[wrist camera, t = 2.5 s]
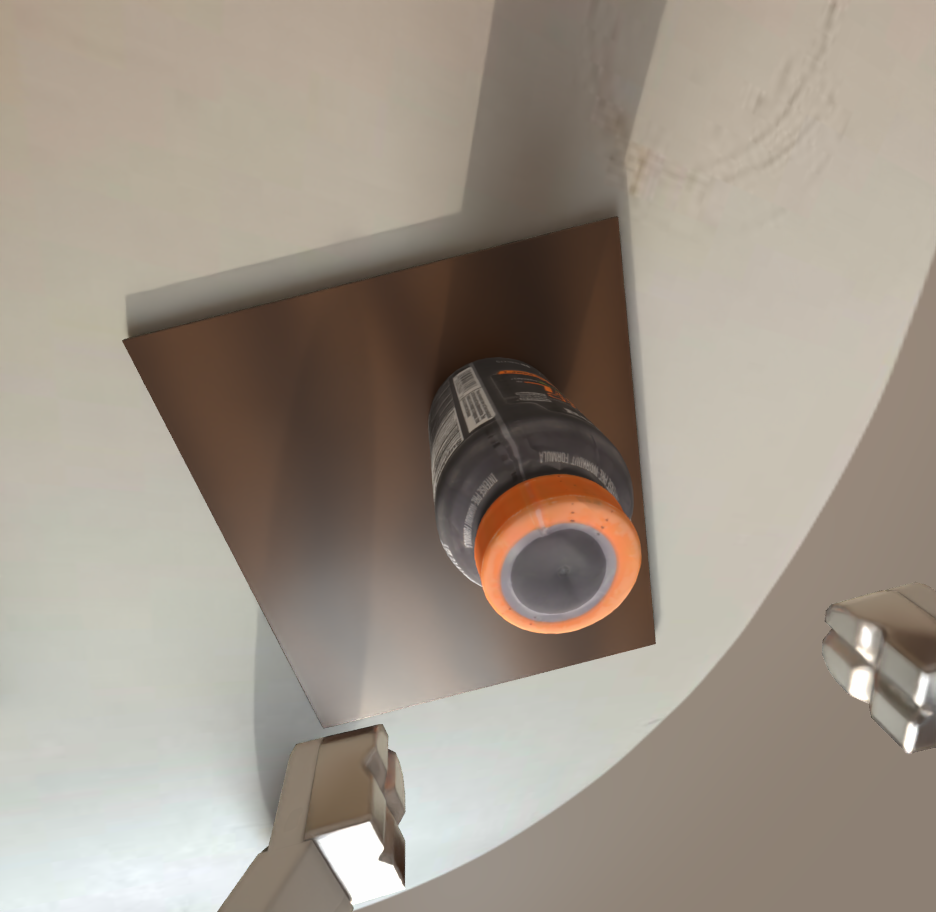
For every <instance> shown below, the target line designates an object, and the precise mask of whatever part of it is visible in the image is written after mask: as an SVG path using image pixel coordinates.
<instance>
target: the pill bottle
mask: <svg viewBox="0 0 936 912" xmlns="http://www.w3.org/2000/svg"><path fill="white" fill-rule="evenodd" d="M428 433H429V444H430V455H431V468H432V483H433V493H434V505H435V519H436V525H437V530H438V533H439V537H440V540H441V543H442V546H443V548H444V549H445V551H446V553H447V555H448V556H449V558H450V559H451V561H452V562H453V564H454V565H455V566H456V567H457V568H458V569H459V570H460V571H461V572H462V573H463V574H464V575H465V576H466V577H467V578H468V579H470V580H471V581H472V582H474V583H476V584H478V585H479V586H481V587H483V590H484V593H485V596H486V598H487V600H488V601H489V603H490V604H491V606H492V607H493V609H494V610H495V611H496V612H497V613H498V614H499V615H500V616H502V617H503V618H504V619H505V620H506V621H508V622H509V623H511V624H513V625H515V626H517V627H519V628H521V629H524V630H528V631H531V632H536V633H545V634H547V633H555V634H559V633H566V632H572V631H576V630H579V629H581V628H584V627H587V626H589V625H591V624H593V623H595V622H597V621H599V620H601V619H603V618H604V617H605V616H607V615H608V614H610V613H611V612H612V611H613V610H614V609H616V608H617V607H618V606H619V605H620V604H621V603H622V602H623V600H624V599H625V598H626V597H627V595H628V594H629V593H630V591H631V589H632V587H633V586H634V584H635V582H636V579H637V576H638V573H639V570H640V566H641V558H642V555H641V544H640V539H639V537H638V534H637V531H636V529H635V527H634V525H633V524H632V522H631V517H632V514H633V507H634V497H633V486H632V481H631V477H630V473H629V470H628V468H627V466H626V463H625V461H624V459H623V458H622V456H621V454H620V452H619V451H618V450H617V448H616V447H615V446H614V445H613V444H612V443H611V441H610V440H609V439H608V438H607V437H606V436H605V435H604V434H603V433H602V432H601V431H600V430H599V429H598V428H597V427H596V426H595V425H594V424H593V423H592V422H591V421H590V420H589V419H587V418H586V417H585V416H584V415H583V414H582V413H581V412H580V411H579V410H578V409H577V408H576V407H575V406H574V405H573V404H572V403H571V402H570V401H569V400H568V399H567V398H566V397H565V396H564V395H563V394H562V393H561V392H560V391H559V390H558V389H557V388H556V387H555V386H554V385H553V384H552V383H551V382H550V381H549V380H548V379H547V378H546V377H545V376H544V375H543V374H542V373H541V372H539V371H538V370H537V369H535V368H534V367H532V366H530V365H529V364H526V363H524V362H522V361H519V360H515V359H509V358H501V357H494V358H485V359H480V360H476V361H474V362H471V363H469V364H466V365H464V366H463V367H461V368H459V369H458V370H456V371H455V372H454V373H453V374H452V375H450V376H449V377H448V378H447V379H446V380H445V381H444V383H443V384H442V385H441V386H440V388H439V389H438V391H437V393H436V395H435V396H434V399H433V401H432V404H431V408H430V412H429V419H428Z"/></svg>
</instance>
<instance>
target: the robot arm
mask: <svg viewBox="0 0 936 912" xmlns="http://www.w3.org/2000/svg"><path fill="white" fill-rule="evenodd" d="M825 622H826V623H827V624H828V625H829V626H830V627H831V628H832V629H831V630H830V631H829V633H828V634H827V635H826V636H825V638H824V639H823V647H822V655H823V657H824V660H825V662H826V665H827V668H828V670H829V671H830V673H831V674H832V676H833V677H834V679H835V680H836V682H837V683H838V684H839V685H840V686H841V687H842V688H843V689H844V690H845V691H846V692H847V693H848V694H849V695H851V696H854V697H856V698H858V699H860V700H862V701H865V702H867V703H869V708H870V713H871V718H872V719H873V720H875V721H876V722H877V724H878V725H879V726H880V727H881V728H882V729H883V730H884V731H885V732H886V733H887V734H888V735H889V736H890V737H891V738H892V739H893V740H894V741H895V742H896V743H897V744H898V745H899V746H900V747H901V748H902V749H903V750H904V751H905V752H906V753H907V754H910V753H914V752H918V751H923V750H927V749H931V748H936V591H935V590H934V589H932V588H931V587H929V586H927V585H924V584H920V583H918V582H914V583H910V584H907V585H903V586H899V587H895V588H892V589H888V590H885V591H877V592H874V593H871V594H867V595H863V596H860V597H856V598H853V599H849V600H845V601H842V602H839V603H835V604H831V605H830V606H829V608H828V609H827V610H826V615H825ZM404 814H405V788H404V780H403V773H402V769H401V766H400V762H399V759H398V757H397V755H396V753H395V752H393V751H391V750H389V749H388V734H387V732H386V730H385V728H384V726H383V724H378V725H374V726H370V727H366V728H361V729H357V730H353V731H348V732H344V733H340V734H335V735H331V736H327V737H323V738H319V739H315V740H311V741H307V742H303V743H299V744H296V745H295V747H294V749H293V751H292V752H291V754H290V757H289V761H288V766H287V770H286V774H285V778H284V783H283V787H282V791H281V795H280V800H279V804H278V808H277V813H276V817H275V821H274V825H273V830H272V834H271V838H270V842H269V847H268V851H266V852H263V853H259V854H258V855H257V856H256V858H255V859H254V861H253V862H252V863H251V865H250V866H249V868H248V869H247V870H246V872H245V873H244V875H243V876H242V878H241V879H240V880H239V882H238V883H237V885H236V886H235V887H234V889H233V890H232V892H231V893H230V894H229V896H228V897H227V899H226V900H225V901H224V903H223V904H222V906H221V907H220V909H219V910H218V911H217V912H352V911H353V909H354V908H353V906H352V904H355V903H359V902H362V901H365V900H369V899H372V898H375V897H379V896H382V895H385V894H388V893H392V892H395V891H398V890H402V889H405V840H404V838H403V835H402V833H401V831H400V829H399V827H398V825H399V823H400V821H401V819H402V817H403V815H404Z"/></svg>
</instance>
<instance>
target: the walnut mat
mask: <svg viewBox="0 0 936 912" xmlns="http://www.w3.org/2000/svg"><path fill="white" fill-rule="evenodd" d="M122 341H123V343H124V345H125V347H126V349H127V351H128V353H129V355H130V357H131V359H132V361H133V363H134V365H135V366H136V368H137V370H138V372H139V374H140V376H141V378H142V380H143V382H144V384H145V386H146V388H147V390H148V392H149V393H150V395H151V397H152V399H153V401H154V403H155V405H156V407H157V409H158V411H159V413H160V415H161V417H162V419H163V420H164V422H165V424H166V426H167V428H168V430H169V432H170V434H171V436H172V438H173V440H174V442H175V444H176V446H177V447H178V449H179V451H180V453H181V455H182V457H183V459H184V461H185V463H186V465H187V467H188V469H189V471H190V472H191V474H192V476H193V478H194V480H195V482H196V484H197V486H198V488H199V490H200V492H201V494H202V496H203V498H204V499H205V501H206V503H207V505H208V507H209V509H210V511H211V513H212V515H213V517H214V519H215V521H216V523H217V525H218V526H219V528H220V530H221V532H222V534H223V536H224V538H225V540H226V542H227V544H228V546H229V548H230V550H231V552H232V553H233V555H234V557H235V559H236V561H237V563H238V565H239V567H240V569H241V571H242V573H243V575H244V577H245V579H246V580H247V582H248V584H249V586H250V588H251V590H252V592H253V594H254V596H255V598H256V600H257V602H258V604H259V606H260V607H261V609H262V611H263V613H264V615H265V617H266V619H267V621H268V623H269V625H270V627H271V629H272V631H273V633H274V634H275V636H276V638H277V640H278V642H279V644H280V646H281V648H282V650H283V652H284V654H285V656H286V658H287V660H288V661H289V663H290V665H291V667H292V669H293V671H294V673H295V675H296V677H297V679H298V681H299V683H300V685H301V687H302V688H303V690H304V692H305V694H306V696H307V698H308V700H309V702H310V704H311V706H312V708H313V710H314V712H315V714H316V715H317V717H318V719H319V721H320V723H321V725H322V727H323V728H328V727H332V726H336V725H340V724H344V723H348V722H351V721H355V720H359V719H363V718H367V717H371V716H375V715H379V714H383V713H387V712H391V711H395V710H399V709H402V708H406V707H410V706H414V705H418V704H422V703H426V702H430V701H434V700H438V699H442V698H446V697H450V696H453V695H457V694H461V693H465V692H469V691H473V690H477V689H481V688H485V687H489V686H493V685H497V684H500V683H504V682H508V681H512V680H516V679H520V678H524V677H528V676H532V675H536V674H540V673H544V672H548V671H551V670H555V669H559V668H563V667H567V666H571V665H575V664H579V663H583V662H587V661H591V660H595V659H599V658H602V657H606V656H610V655H614V654H618V653H622V652H626V651H630V650H634V649H638V648H642V647H646V646H650V645H653V644H656V642H655V630H654V619H653V607H652V596H651V585H650V573H649V562H648V551H647V539H646V528H645V517H644V505H643V494H642V482H641V471H640V460H639V448H638V437H637V426H636V414H635V403H634V392H633V380H632V369H631V357H630V346H629V335H628V323H627V312H626V301H625V289H624V278H623V267H622V255H621V244H620V233H619V221H618V217H612V218H608V219H604V220H600V221H596V222H592V223H588V224H584V225H580V226H576V227H572V228H568V229H564V230H560V231H556V232H552V233H548V234H544V235H540V236H536V237H532V238H528V239H524V240H520V241H516V242H512V243H508V244H504V245H500V246H496V247H492V248H488V249H484V250H480V251H476V252H472V253H468V254H464V255H460V256H456V257H452V258H447V259H443V260H439V261H435V262H431V263H427V264H423V265H419V266H415V267H411V268H407V269H403V270H399V271H395V272H391V273H387V274H383V275H379V276H375V277H371V278H367V279H363V280H359V281H355V282H351V283H347V284H343V285H339V286H335V287H331V288H327V289H323V290H319V291H315V292H311V293H307V294H303V295H299V296H295V297H291V298H287V299H283V300H279V301H275V302H271V303H267V304H263V305H259V306H255V307H251V308H247V309H243V310H239V311H235V312H231V313H227V314H223V315H219V316H215V317H211V318H207V319H203V320H199V321H195V322H191V323H187V324H183V325H179V326H175V327H171V328H167V329H163V330H159V331H155V332H151V333H147V334H143V335H139V336H135V337H131V338H127V339H124V340H122ZM494 357H501V358H509V359H515V360H519V361H522V362H524V363H526V364H529V365H530V366H532V367H534V368H535V369H537V370H538V371H539V372H541V373H542V374H543V375H544V376H545V377H546V378H547V379H548V380H549V381H550V382H551V383H552V384H553V385H554V386H555V387H556V388H557V389H558V390H559V391H560V392H561V393H562V394H563V395H564V396H565V397H566V398H567V399H568V400H569V401H570V402H571V403H572V404H573V405H574V406H575V407H576V408H577V409H578V410H579V411H580V412H581V413H582V414H583V415H584V416H585V417H586V418H587V419H589V420H590V421H591V422H592V423H593V424H594V425H595V426H596V427H597V428H598V429H599V430H600V431H601V432H602V433H603V434H604V435H605V436H606V437H607V438H608V439H609V440H610V441H611V443H612V444H613V445H614V446H615V447H616V448H617V450H618V451H619V452H620V454H621V456H622V458H623V459H624V461H625V463H626V466H627V468H628V470H629V473H630V477H631V481H632V486H633V497H634V507H633V514H632V517H631V522H632V524H633V525H634V527H635V529H636V531H637V534H638V537H639V539H640V544H641V555H642V558H641V566H640V570H639V573H638V576H637V579H636V582H635V584H634V586H633V587H632V589H631V591H630V593H629V594H628V595H627V597H626V598H625V599H624V600H623V602H622V603H621V604H620V605H619V606H618V607H617V608H616V609H614V610H613V611H612V612H611V613H610V614H608V615H607V616H605V617H604V618H603V619H601V620H599V621H597V622H595V623H593V624H591V625H589V626H587V627H584V628H581V629H579V630H576V631H572V632H566V633H559V634H555V633H547V634H545V633H536V632H531V631H528V630H524V629H521V628H519V627H517V626H515V625H513V624H511V623H509V622H508V621H506V620H505V619H504V618H503V617H502V616H500V615H499V614H498V613H497V612H496V611H495V610H494V609H493V607H492V606H491V604H490V603H489V601H488V600H487V598H486V596H485V593H484V590H483V587H481V586H479V585H478V584H476V583H474V582H472V581H471V580H470V579H468V578H467V577H466V576H465V575H464V574H463V573H462V572H461V571H460V570H459V569H458V568H457V567H456V566H455V565H454V564H453V562H452V561H451V559H450V558H449V556H448V555H447V553H446V551H445V549H444V548H443V546H442V543H441V540H440V537H439V533H438V530H437V525H436V519H435V505H434V493H433V483H432V468H431V455H430V444H429V433H428V419H429V412H430V408H431V404H432V401H433V399H434V396H435V395H436V393H437V391H438V389H439V388H440V386H441V385H442V384H443V383H444V381H445V380H446V379H447V378H448V377H449V376H450V375H452V374H453V373H454V372H455V371H456V370H458V369H459V368H461V367H463V366H464V365H466V364H469V363H471V362H474V361H476V360H480V359H485V358H494Z"/></svg>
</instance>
